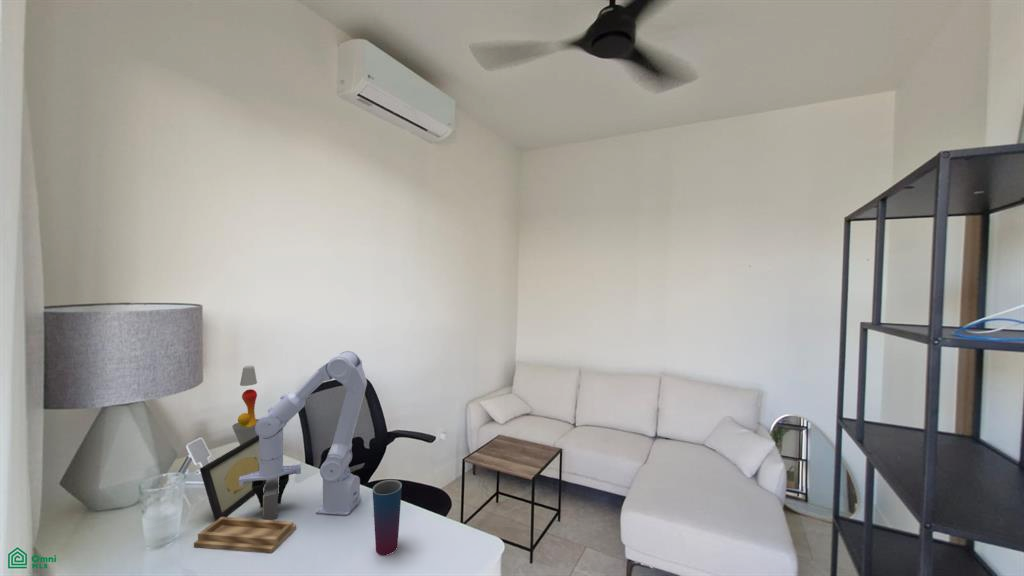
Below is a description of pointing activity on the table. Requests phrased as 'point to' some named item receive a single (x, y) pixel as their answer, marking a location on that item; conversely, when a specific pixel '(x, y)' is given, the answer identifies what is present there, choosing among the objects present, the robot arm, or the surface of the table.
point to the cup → (386, 515)
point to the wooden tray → (245, 534)
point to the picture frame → (230, 477)
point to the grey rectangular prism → (270, 499)
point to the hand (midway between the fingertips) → (270, 504)
